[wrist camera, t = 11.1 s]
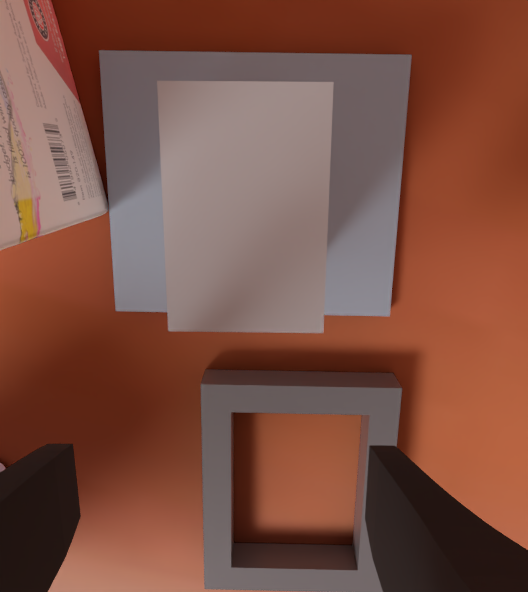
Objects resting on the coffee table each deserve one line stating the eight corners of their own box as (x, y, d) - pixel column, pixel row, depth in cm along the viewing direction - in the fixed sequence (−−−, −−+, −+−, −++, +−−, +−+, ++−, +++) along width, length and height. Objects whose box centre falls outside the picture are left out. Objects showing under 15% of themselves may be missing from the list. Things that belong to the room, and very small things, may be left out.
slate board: (119, 307, 21) (115, 311, 20) (104, 53, 18) (99, 50, 18) (386, 311, 21) (389, 316, 20) (407, 58, 18) (411, 54, 18)
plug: (203, 273, 20) (167, 331, 13) (199, 111, 18) (156, 80, 11) (305, 274, 20) (323, 332, 13) (309, 111, 18) (333, 81, 11)
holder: (208, 563, 24) (204, 589, 23) (205, 369, 21) (200, 384, 20) (375, 567, 24) (382, 593, 22) (393, 373, 21) (402, 388, 20)
